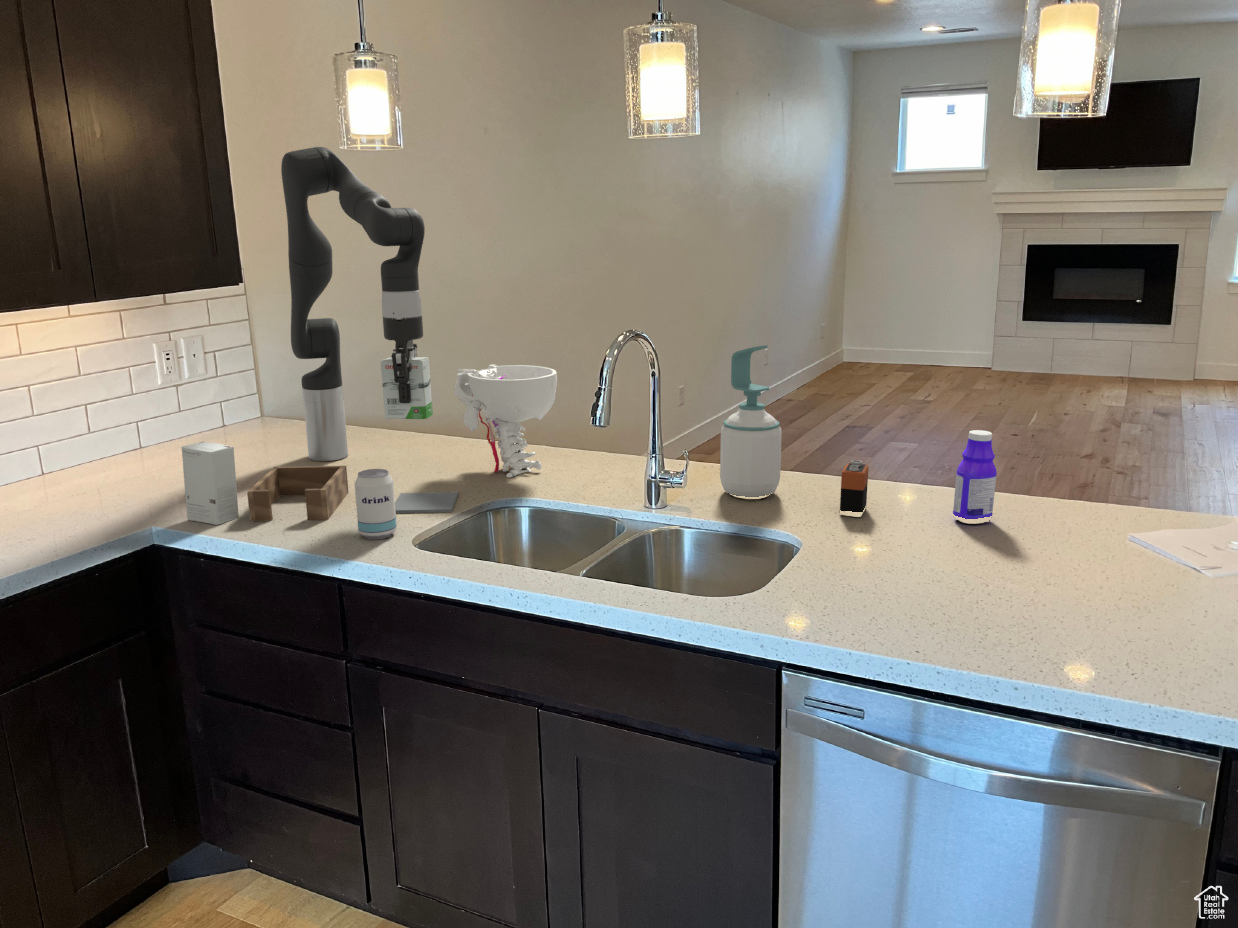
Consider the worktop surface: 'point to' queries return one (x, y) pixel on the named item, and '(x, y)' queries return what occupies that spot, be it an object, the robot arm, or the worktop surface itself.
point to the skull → (507, 407)
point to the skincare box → (210, 482)
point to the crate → (300, 490)
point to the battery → (854, 486)
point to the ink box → (419, 391)
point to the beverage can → (375, 503)
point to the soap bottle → (749, 438)
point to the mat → (425, 502)
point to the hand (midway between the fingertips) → (408, 399)
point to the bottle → (976, 478)
